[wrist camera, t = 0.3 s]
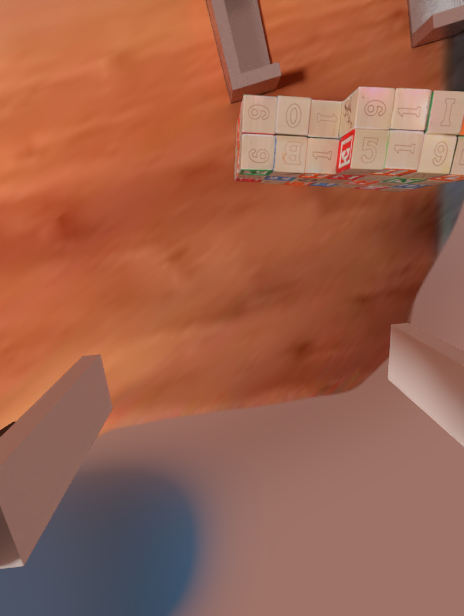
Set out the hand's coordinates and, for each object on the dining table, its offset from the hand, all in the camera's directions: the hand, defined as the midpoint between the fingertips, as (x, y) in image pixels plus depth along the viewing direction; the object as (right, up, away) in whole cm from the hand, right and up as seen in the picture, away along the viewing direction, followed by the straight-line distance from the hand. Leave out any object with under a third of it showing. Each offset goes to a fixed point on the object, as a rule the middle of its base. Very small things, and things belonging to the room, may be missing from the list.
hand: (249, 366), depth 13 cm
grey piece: (0, +32, +19) cm, 37 cm away
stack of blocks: (+10, +21, +23) cm, 33 cm away
